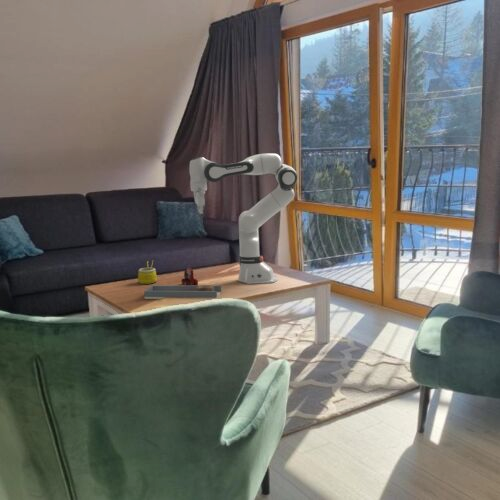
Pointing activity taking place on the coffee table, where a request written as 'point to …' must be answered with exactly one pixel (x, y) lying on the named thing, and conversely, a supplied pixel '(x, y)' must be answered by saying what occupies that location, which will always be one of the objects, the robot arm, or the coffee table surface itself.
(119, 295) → the coffee table surface
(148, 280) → the mug
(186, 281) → the red wheeled piece
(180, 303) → the coffee table surface
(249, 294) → the coffee table surface
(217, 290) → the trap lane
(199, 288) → the walnut block
